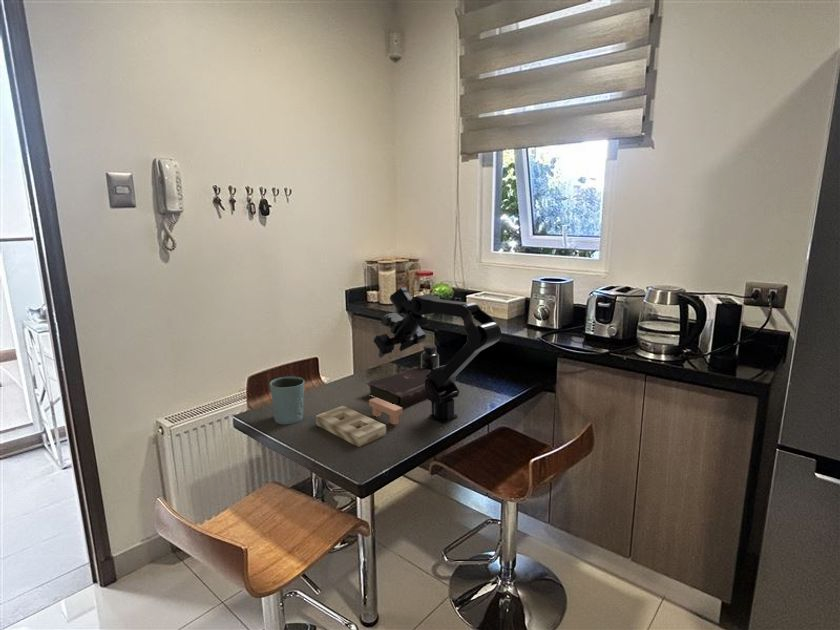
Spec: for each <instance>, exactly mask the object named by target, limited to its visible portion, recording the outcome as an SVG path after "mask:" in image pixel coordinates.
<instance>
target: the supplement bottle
mask: <svg viewBox="0 0 840 630" xmlns="http://www.w3.org/2000/svg"><path fill="white" fill-rule="evenodd" d="M422 350H423V352H422V353H421V354H420V368H425V369H428V370H432V369H434V368H437V367H440V355H439V354H438V352H437V346H436V345H435V344H425V345H424V346H423V349H422Z"/></svg>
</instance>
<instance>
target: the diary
mask: <svg viewBox="0 0 840 630" xmlns="http://www.w3.org/2000/svg"><path fill="white" fill-rule="evenodd" d="M430 372H431V370H428V369H425V368H421V366H414V367H411V368H409V369H405V370H403V371H399V372H398V373H394V374H391V375H387V376H382V377H380V378H377V379H373V380H372V381H369V382H366V383H365V384H366V385H368V386H369V392H370V393H369V394H370V395H373V396H375V397H378V398H380V399H383V400H385V401H388V402H389V403H390V402H391V403H393V404H394V405H397V406H399V407H402V408H403V409H405V407H406V408H409V406H411V405H413V404H414V405H415V404H417V403H418V402H421V401H424V400H427V399H428V397H427V393H426V389H425V379H426V378H427V377H426V375H428V374H429V373H430ZM423 399H424V400H423ZM399 404H400V405H399Z"/></svg>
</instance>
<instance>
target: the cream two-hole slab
mask: <svg viewBox="0 0 840 630" xmlns="http://www.w3.org/2000/svg"><path fill="white" fill-rule="evenodd" d="M315 418H316V419H315V421H316V425H317V427H320V428H322V429H324V430H326V431H327V432H329V433H331V434H333V435H335V436H337V437H339V438H341V439H342V440H345V441H346V442H348V443H350V444H352V445H354V446H356V447H357V448H361V447H362V446H364V445H367V444H369V443H371V442H374V441H376V440H378V439H381V438H382V437H384V436H387V425H386V424H384V423H382V422H380V421H378V420H375V419H374V418H371V417H370V416H367V415H364V414H361V413H360V412H358V411H356V410H354V409H351V408H349V407H347V406H345V405H341V406H339V407H335V408H333V409H331V410H327V411H325V412H322V413H319V414H317V415H315Z"/></svg>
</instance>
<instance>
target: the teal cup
mask: <svg viewBox="0 0 840 630" xmlns="http://www.w3.org/2000/svg"><path fill="white" fill-rule="evenodd" d="M305 382H306V381H305V379H303V378H302V377H299V376H281V377H277V378H274V379H272V380H271V381H270V382H269V388H270V394H271V401H272V402H271V403H272V407H273V410H272V411H273V416H274V417H273V418H274V422H275V423H276V424H278V425H292V424H293V425H294V424H296V423H298V422H300V421H302V420H303V418H304V395H305Z"/></svg>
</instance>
